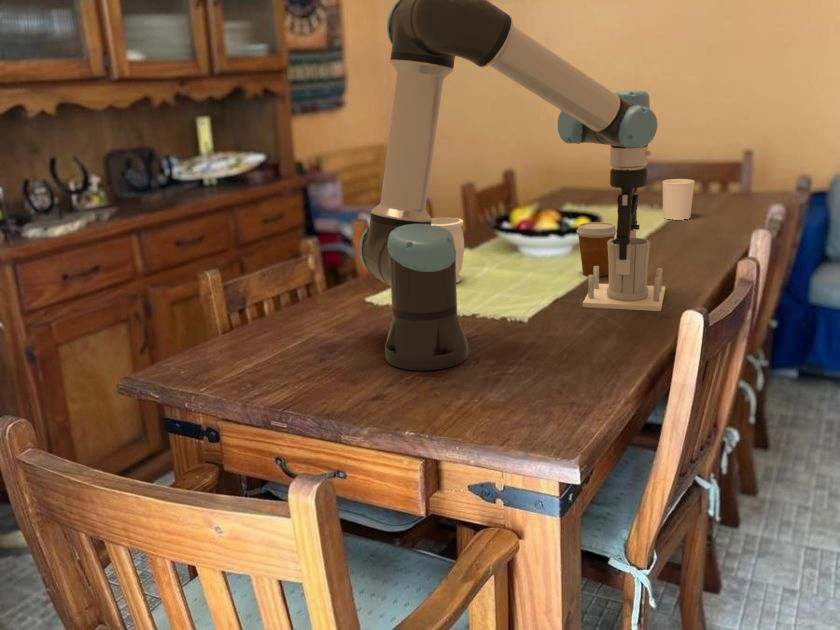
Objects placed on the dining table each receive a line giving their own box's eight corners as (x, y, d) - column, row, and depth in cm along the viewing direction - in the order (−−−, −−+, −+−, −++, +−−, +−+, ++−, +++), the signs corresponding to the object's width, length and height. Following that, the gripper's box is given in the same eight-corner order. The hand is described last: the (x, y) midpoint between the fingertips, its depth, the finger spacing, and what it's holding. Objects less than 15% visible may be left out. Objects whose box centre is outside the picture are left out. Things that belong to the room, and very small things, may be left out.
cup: (591, 295, 178) (592, 241, 174) (617, 286, 183) (618, 234, 180) (632, 303, 170) (634, 247, 166) (657, 294, 175) (659, 240, 172)
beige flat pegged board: (660, 311, 168) (662, 283, 166) (582, 307, 173) (583, 279, 171) (665, 290, 182) (666, 264, 180) (592, 287, 187) (593, 262, 185)
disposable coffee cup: (571, 276, 197) (571, 228, 194) (582, 267, 205) (583, 220, 202) (609, 279, 193) (611, 230, 189) (620, 270, 201) (621, 222, 198)
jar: (461, 287, 193) (459, 225, 188) (419, 286, 195) (416, 225, 191) (468, 276, 203) (466, 216, 198) (427, 275, 205) (425, 217, 200)
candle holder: (654, 218, 264) (655, 181, 260) (677, 214, 268) (679, 178, 264) (675, 222, 255) (677, 184, 252) (699, 218, 259) (701, 181, 256)
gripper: (642, 175, 157) (639, 281, 163) (651, 160, 179) (648, 254, 185) (603, 175, 159) (601, 280, 165) (616, 160, 181) (614, 253, 188)
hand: (625, 266), depth 175 cm, fingers open, 13 cm apart
